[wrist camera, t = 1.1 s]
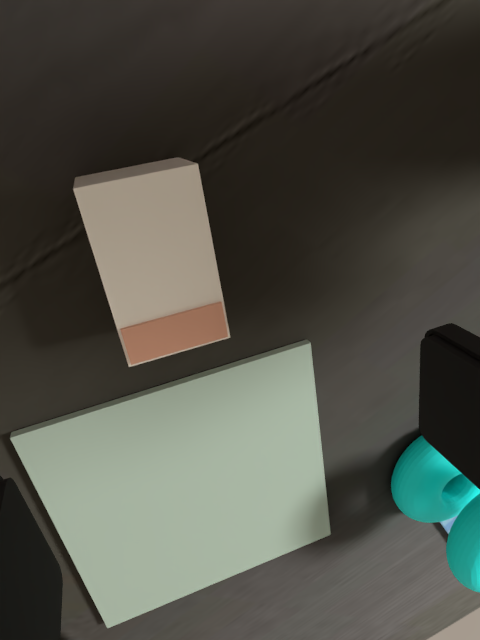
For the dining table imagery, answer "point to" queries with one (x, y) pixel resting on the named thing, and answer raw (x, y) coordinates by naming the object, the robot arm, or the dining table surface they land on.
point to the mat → (184, 480)
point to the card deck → (154, 256)
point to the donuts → (441, 505)
